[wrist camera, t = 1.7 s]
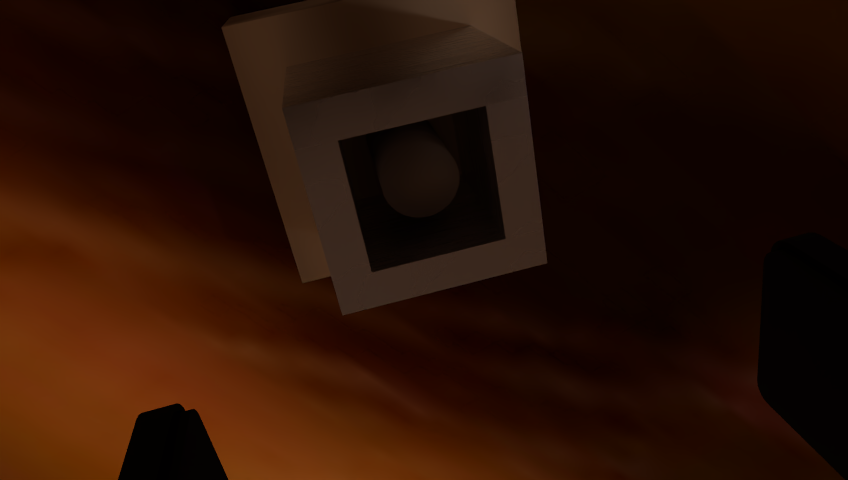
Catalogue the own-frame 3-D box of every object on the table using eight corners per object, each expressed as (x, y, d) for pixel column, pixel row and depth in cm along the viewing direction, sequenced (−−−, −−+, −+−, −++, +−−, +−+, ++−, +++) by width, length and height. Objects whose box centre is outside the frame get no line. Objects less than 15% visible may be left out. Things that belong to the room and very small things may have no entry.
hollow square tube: (470, 25, 23) (522, 52, 18) (496, 195, 26) (547, 263, 21) (286, 67, 23) (282, 108, 17) (333, 235, 26) (342, 315, 20)
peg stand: (488, -40, 25) (563, -30, 18) (520, 196, 30) (590, 280, 22) (230, 17, 24) (201, 51, 17) (302, 250, 29) (302, 355, 22)
